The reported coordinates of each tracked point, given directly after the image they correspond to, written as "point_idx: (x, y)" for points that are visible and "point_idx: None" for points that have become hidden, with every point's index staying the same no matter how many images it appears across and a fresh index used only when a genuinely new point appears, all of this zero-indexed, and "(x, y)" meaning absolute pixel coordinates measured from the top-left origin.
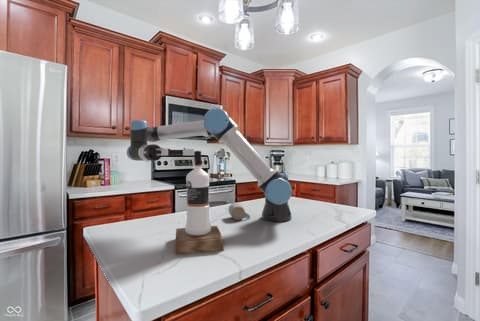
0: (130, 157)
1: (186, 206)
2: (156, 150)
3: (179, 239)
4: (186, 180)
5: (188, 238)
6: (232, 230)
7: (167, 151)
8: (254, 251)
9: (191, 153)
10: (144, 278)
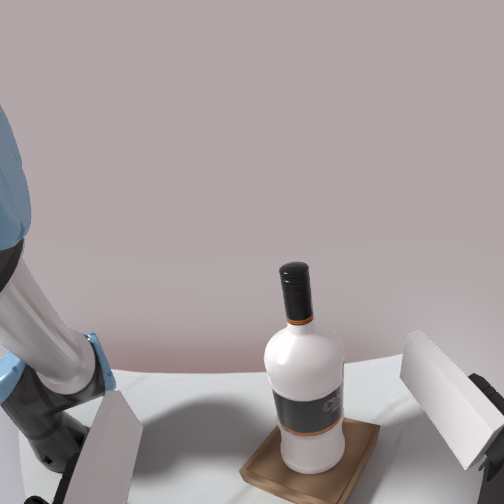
0: None
1: (342, 420)
2: (495, 392)
3: (368, 433)
4: (342, 366)
5: (349, 431)
6: (189, 480)
7: (408, 351)
8: (260, 391)
9: (133, 429)
10: None
